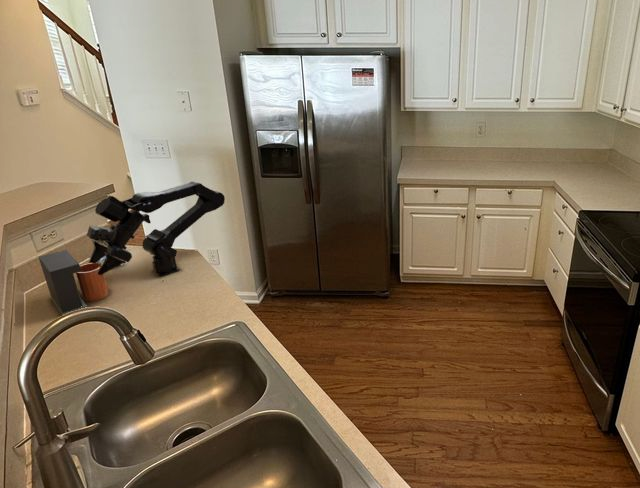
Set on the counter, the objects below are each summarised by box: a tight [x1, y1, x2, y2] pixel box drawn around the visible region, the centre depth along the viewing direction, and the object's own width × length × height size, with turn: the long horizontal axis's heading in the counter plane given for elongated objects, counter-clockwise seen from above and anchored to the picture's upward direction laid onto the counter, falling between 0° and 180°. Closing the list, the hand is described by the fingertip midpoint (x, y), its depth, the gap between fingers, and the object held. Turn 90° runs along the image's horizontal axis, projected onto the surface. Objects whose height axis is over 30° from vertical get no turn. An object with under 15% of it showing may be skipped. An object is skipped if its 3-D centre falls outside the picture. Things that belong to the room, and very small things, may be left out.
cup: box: [75, 262, 109, 302], centre depth 136 cm, size 7×7×10 cm
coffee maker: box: [38, 249, 88, 316], centre depth 131 cm, size 7×14×15 cm, turn 49°
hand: (94, 269), depth 136 cm, fingers open, 9 cm apart
